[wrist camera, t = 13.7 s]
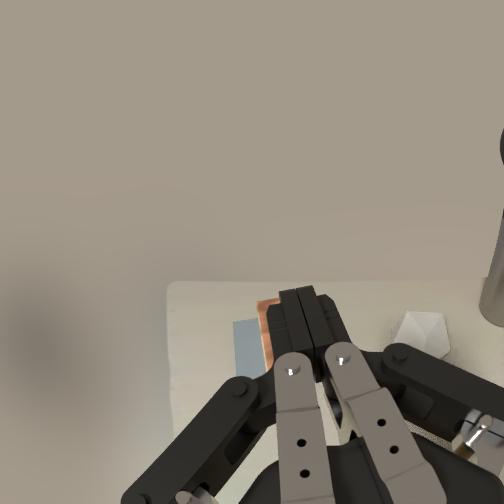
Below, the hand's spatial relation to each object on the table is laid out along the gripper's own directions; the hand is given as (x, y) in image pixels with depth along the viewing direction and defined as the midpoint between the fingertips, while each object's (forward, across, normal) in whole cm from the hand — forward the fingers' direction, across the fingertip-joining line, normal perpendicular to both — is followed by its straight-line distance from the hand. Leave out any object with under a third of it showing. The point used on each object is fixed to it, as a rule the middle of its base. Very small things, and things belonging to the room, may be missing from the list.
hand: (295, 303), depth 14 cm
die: (+14, -19, +28) cm, 37 cm away
